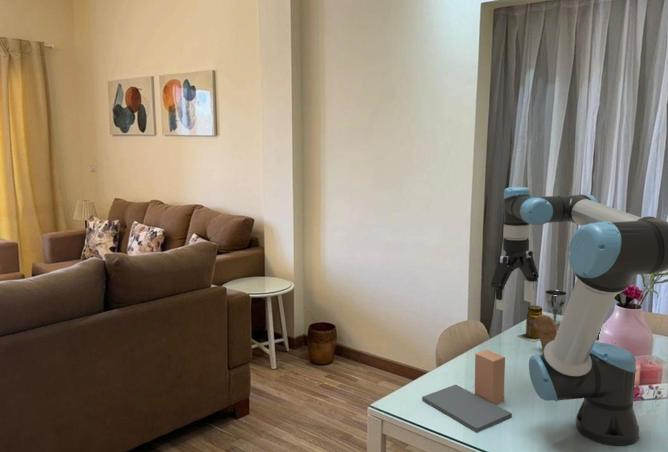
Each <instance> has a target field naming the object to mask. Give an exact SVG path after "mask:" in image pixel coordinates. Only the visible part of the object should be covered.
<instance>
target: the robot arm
mask: <svg viewBox="0 0 668 452" xmlns="http://www.w3.org/2000/svg"><path fill="white" fill-rule="evenodd" d="M502 201H503V237H504V238H503V240H502V249H503V251H504V252H505V255H499V256H497V265H496V267H495V270H494V273H493V277H492V280H491V283H490V288H492V289H495V300H496V302H495V303H496V305H495V306H496V307H495V308H496V310H500V311H503V312H504V311H506V289H505V286H506V284H507V282H508V280H509V278H510V276H511V274H512V272H514V271H515V270H517V269H519V270H520V271H521V273H522V274H523V276H524V277H525V279H526V280H524V286H523V289H524V290H523V295H524V296H523V301H525V302H528V303H534V288H535V287H534V283H535V282H537V281H538V278H539V277H540V275H539V273H538V269H537V266H536V263H535V262H536V261H534V260H535V259H534V252H533V251H532V250H530V239H529V237H530V225H533V226H544V225H546V224H547V223H549V224H550V223H573V224H576V225H577V226H578V225H579V226H580V227H579V228H578V229H576V231H575V232H574V234H573V235H572V237H571V239H570V242H569V245H568V252H569V254H568V262H569V265H570V267H571V269H572V271H573V274H574V276H575V278H576V281H575V284H574V287H573V288H572V292H571V294H570V297H569V300H568V302H567V305H566V308H565V311H564V313H563V316H562V319H561V321H560V324H559V325H558V326H559V329H558V331H557V334H556V337H555V340H553V341H551V342H549V343H548V344H547V345H546V346H545V348H544V351H543V350H542V353H541V354H537V353H536V354H533V355H532V356H530V358H529V360H528V370H529V371H528V372H529V377H530V381H531V385H532V386H533V389H534V391H535V393H536V395H537V396H538V398H540V399H542V400H544V401H553V402H557V401H568V400H578V399H580V400H581V399H583V400H582V403H581V405H580V407H579V409H578V412H577V414H576V418H575V426H576V429H577V431H578V432H579V433H580V434H581V435H583V436H584V437H586V438H588V439H590V440H592V441H595V442H598V443H599V444H604V445H611V446H628V445H632V444H635V443H636V442H637V441H638V439H639V435H640V427H639V424H638V420H637V417H636V413H635V410H634V400H635V399H634V396H635V383H636V382H635V381H636V373H637V363H636V357H635V355H634V354H632V352H630V351H629V350H628V349H625V348H623V347H620V346H618V345H615V344H610V343H605V342H597V339H598V334H599V332H600V330H601V328H602V327H603V326H604V324H605V323H604V322H605V321H606V318H607V316H608V314H609V312H610V310H611V306H612V305H613V304H614V300H615V297H616V295H617V294H619V293H623V292H624V291H626V290H627V289H628V287H629V285H630V283H631V281H632V279H633V277H634V276H637V275H649V274H650V275H652V274H658V273H662V272H665V271H667V270H668V221H666V220H664V219H660V218H657V217H654V216H642V217H640V216H638V215H635V214H632V213H629V212H627V211H623V210H622V209H621V210H620V209H616V208H615V207H614V208H613V207H611V206H608V205H606V204H603V203H600V202H599V201H598V200H597V199H596V197H595V196H594V195H592V194H577V195H576V194H574V195H573V194H572V195H552V196H531V190H530V188H529V187H526V186H525V187H523V186H514V187H512V186H511V187H506V188H505V189H504V191H503V199H502ZM602 329H603V328H602Z"/></svg>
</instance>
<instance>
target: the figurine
mask: <svg viewBox="0 0 668 452" xmlns="http://www.w3.org/2000/svg"><path fill="white" fill-rule="evenodd" d="M533 326H534V327H535V328H536V329H537V330H538V335H539V337H540V340H539V341H540V345H541V349H542V352H543V351H544V348H545V346H546V345H547V344H548V343H549V342H551V341H553V340H555V337H556V334H557V332H558V331H557V330H556V327H557V326H559V325H558V323H557V321H556V322H555V321H554V318H552V317H551V316H549V315H547V314H543V315H539V316H537V317H536V318H535V320H534V325H533Z"/></svg>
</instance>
